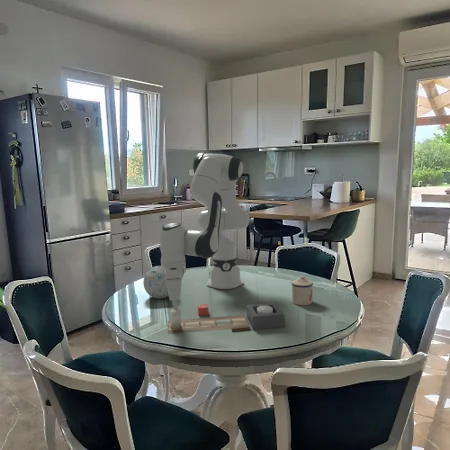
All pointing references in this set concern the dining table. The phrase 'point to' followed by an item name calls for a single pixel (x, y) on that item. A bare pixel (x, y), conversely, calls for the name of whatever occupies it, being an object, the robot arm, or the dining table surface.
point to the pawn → (175, 318)
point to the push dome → (264, 309)
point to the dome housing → (265, 317)
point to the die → (203, 309)
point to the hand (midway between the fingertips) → (175, 304)
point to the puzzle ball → (155, 283)
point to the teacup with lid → (302, 291)
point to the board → (211, 324)
